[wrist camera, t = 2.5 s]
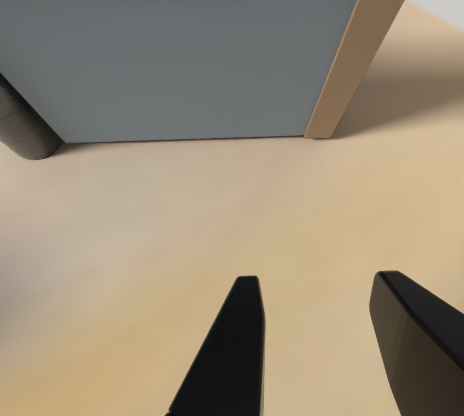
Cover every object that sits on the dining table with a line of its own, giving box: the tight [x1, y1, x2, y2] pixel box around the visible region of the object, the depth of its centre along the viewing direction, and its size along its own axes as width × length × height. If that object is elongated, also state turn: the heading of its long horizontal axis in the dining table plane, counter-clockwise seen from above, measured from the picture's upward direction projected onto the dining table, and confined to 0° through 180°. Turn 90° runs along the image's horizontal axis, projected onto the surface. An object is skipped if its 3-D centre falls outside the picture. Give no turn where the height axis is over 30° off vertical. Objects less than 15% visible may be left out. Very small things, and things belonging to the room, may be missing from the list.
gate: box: [0, 0, 404, 143], centre depth 16 cm, size 14×2×12 cm, turn 92°
